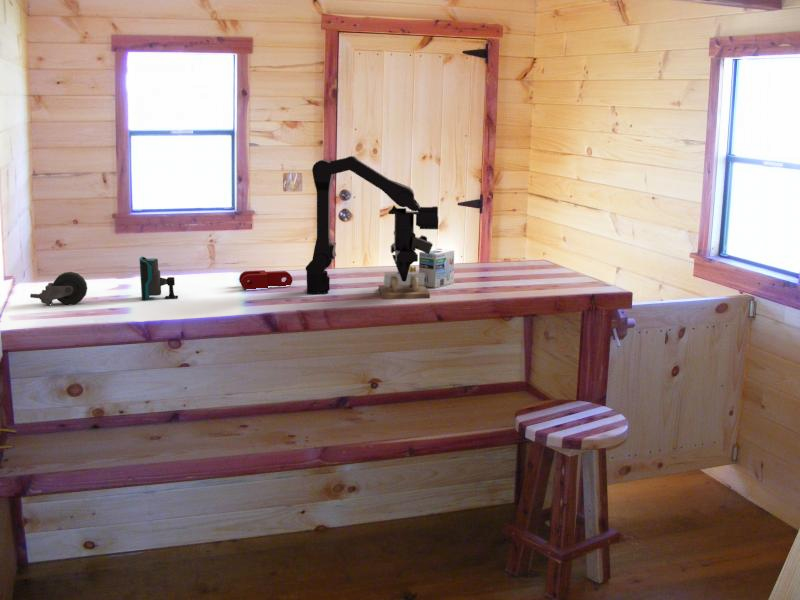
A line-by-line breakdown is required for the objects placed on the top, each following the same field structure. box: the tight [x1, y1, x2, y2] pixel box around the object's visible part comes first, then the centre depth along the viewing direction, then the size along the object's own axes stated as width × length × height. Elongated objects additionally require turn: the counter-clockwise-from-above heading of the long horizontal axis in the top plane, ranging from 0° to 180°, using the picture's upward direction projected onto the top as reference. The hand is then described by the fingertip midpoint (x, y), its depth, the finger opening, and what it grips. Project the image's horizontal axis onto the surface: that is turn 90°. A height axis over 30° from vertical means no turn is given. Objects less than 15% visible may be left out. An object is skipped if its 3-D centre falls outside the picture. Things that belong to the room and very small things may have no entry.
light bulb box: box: [418, 247, 455, 289], centre depth 288 cm, size 11×7×11 cm, turn 143°
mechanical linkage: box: [238, 269, 293, 291], centre depth 282 cm, size 16×7×5 cm, turn 105°
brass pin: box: [408, 265, 417, 272], centre depth 287 cm, size 2×2×6 cm
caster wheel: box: [30, 271, 88, 307], centre depth 256 cm, size 6×10×15 cm
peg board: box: [378, 278, 431, 299], centre depth 275 cm, size 14×14×5 cm
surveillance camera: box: [139, 256, 179, 301], centre depth 265 cm, size 6×12×10 cm
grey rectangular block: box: [383, 271, 425, 286], centre depth 274 cm, size 12×3×4 cm, turn 96°
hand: (403, 280), depth 274 cm, fingers closed on grey rectangular block, 3 cm apart
